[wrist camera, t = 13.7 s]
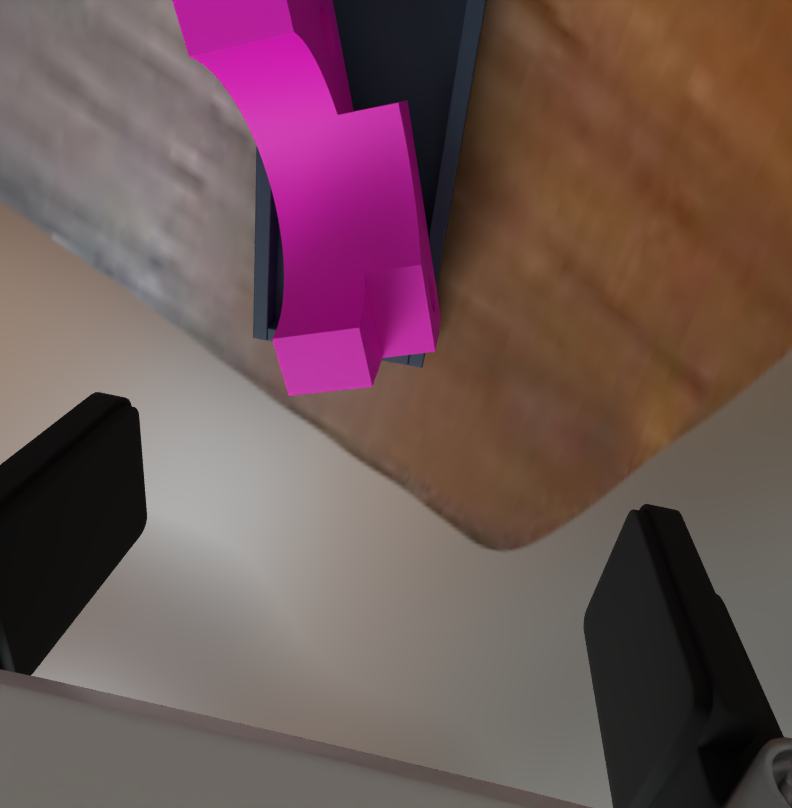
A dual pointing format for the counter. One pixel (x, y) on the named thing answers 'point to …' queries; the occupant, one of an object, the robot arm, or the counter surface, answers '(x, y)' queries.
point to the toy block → (326, 190)
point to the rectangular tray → (380, 85)
